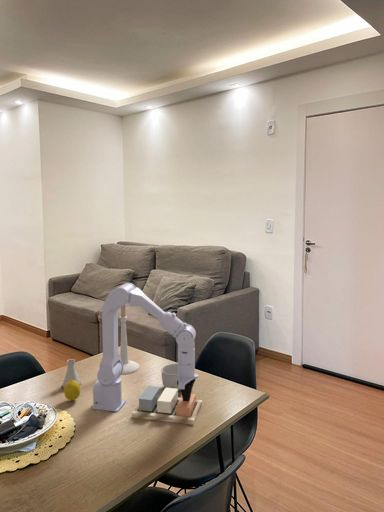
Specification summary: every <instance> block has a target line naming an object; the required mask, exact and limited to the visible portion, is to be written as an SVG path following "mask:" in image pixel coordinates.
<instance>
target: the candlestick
mask: <svg viewBox="0 0 384 512" xmlns="http://www.w3.org/2000/svg"><path fill="white" fill-rule="evenodd" d="M126 310H127V309H126V305H124V306H122V307H121V308H120V316H118V319H119V321H120V323H121V325H120V327H121V328H120V350H119V351H120V352H119V355H120V356H121V362H122V364H123V371H122V373H121V374H120V375H129V374H133V373H135V372H137V371H139V370H140V364H139V363H138V362H136V361H134V360H129V351H128V337H127V335H128V334H127V325H126V322H127V320H128V319H127V318H128V316H127V315H126V314H127V313H126Z"/></svg>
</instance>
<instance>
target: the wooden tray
mask: <svg viewBox="0 0 384 512" xmlns="http://www.w3.org/2000/svg"><path fill="white" fill-rule="evenodd" d="M180 399H181V397H178V400H177V402H176V404H178V402H179V400H180ZM202 405H203V400H202V399H196V406H195V408H194V410H193V413H192V415H191V417H182V416H176V408H175V409H174V411H173V412H172V413H171V414H166V413H159V412H157V407H156V408H155V409H154V410H153V412H149V411H141V410H139V403H138V404H136V406H135V408H134V409H133V411H132V412H131V418H135V419H143V420H149V421H151V420H152V421H159V422H160V421H161V422H168V423H177V424H186V425H192V426H193V425H195V423H196V420H197V417H198V416H199V413H200V410H201V408H202Z"/></svg>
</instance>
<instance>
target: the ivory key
mask: <svg viewBox="0 0 384 512" xmlns="http://www.w3.org/2000/svg"><path fill="white" fill-rule="evenodd" d="M178 398H179V391H178V389H175V388H166V387H164V389H163V391H162V393H160V397H159V399H158V400H157V404H156V408H157V412H158V413H161V414H172V413H173V412H172V411H173V410H174V408H175V407H176V404H177V403H176V402H177V400H178Z"/></svg>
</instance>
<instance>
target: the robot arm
mask: <svg viewBox="0 0 384 512" xmlns="http://www.w3.org/2000/svg"><path fill="white" fill-rule="evenodd" d="M127 304H128V307H140V309H142V310H143V311H145V312H147V314H149V315H151V316H153V318H155V319H156V320H157V321H158V325H159V327H161V328H162V329H163V330H164V331H166V332H167V333H168V334H170V336H172V337H173V338H175V342H176V344H177V364H178V374H177V377H178V381H177V385H178V389H180V393H181V397H182V398H183V401H189V400H190V397H191V394H192V391H193V387H194V384H195V383H196V379H198V378H199V374H197V373H196V369H195V368H196V367H195V366H196V348H195V339H196V336H197V331H196V329H195V327H194V326H193V325H191V324H188V323H187V322H184V321H182V320H181V319H180V318H178V317H177V314H176V313H175V312H171V311H165V310H163V309H162V308H161V307H160V306H159V305H157V304H156V303H155V302H154V301H153V300H152V299H151V298H150V297H148V295H146V294H145V293H144V292H143V291H142V289H141V288H140V287H137V286H136V285H135V284H133V283H131V282H125V283H123V284H121V285H120V286H118V287H116V288H114V289H112V290H111V291H109V293H108V295H107V297H106V299H105V300H104V302H103V303H102V306H101V323H102V325H101V326H102V329H101V330H102V332H101V333H102V357H101V359H100V362H99V369H98V371H97V375H96V377H97V379H96V380H95V382H94V384H93V388H92V400H93V401H92V405H93V406H92V409H93V410H99V411H109V412H116V413H117V412H119V411H120V409H121V408H122V407H123V405H124V404H125V403H126V401H127V400H126V399H123V397H122V396H123V395H122V393H123V392H122V391H123V390H122V377H121V375H122V374H121V373H122V371H123V364H122V362H121V356H120V353H119V313H118V311H119V310H121V307H122V306H124V305H125V306H126V305H127Z"/></svg>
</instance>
